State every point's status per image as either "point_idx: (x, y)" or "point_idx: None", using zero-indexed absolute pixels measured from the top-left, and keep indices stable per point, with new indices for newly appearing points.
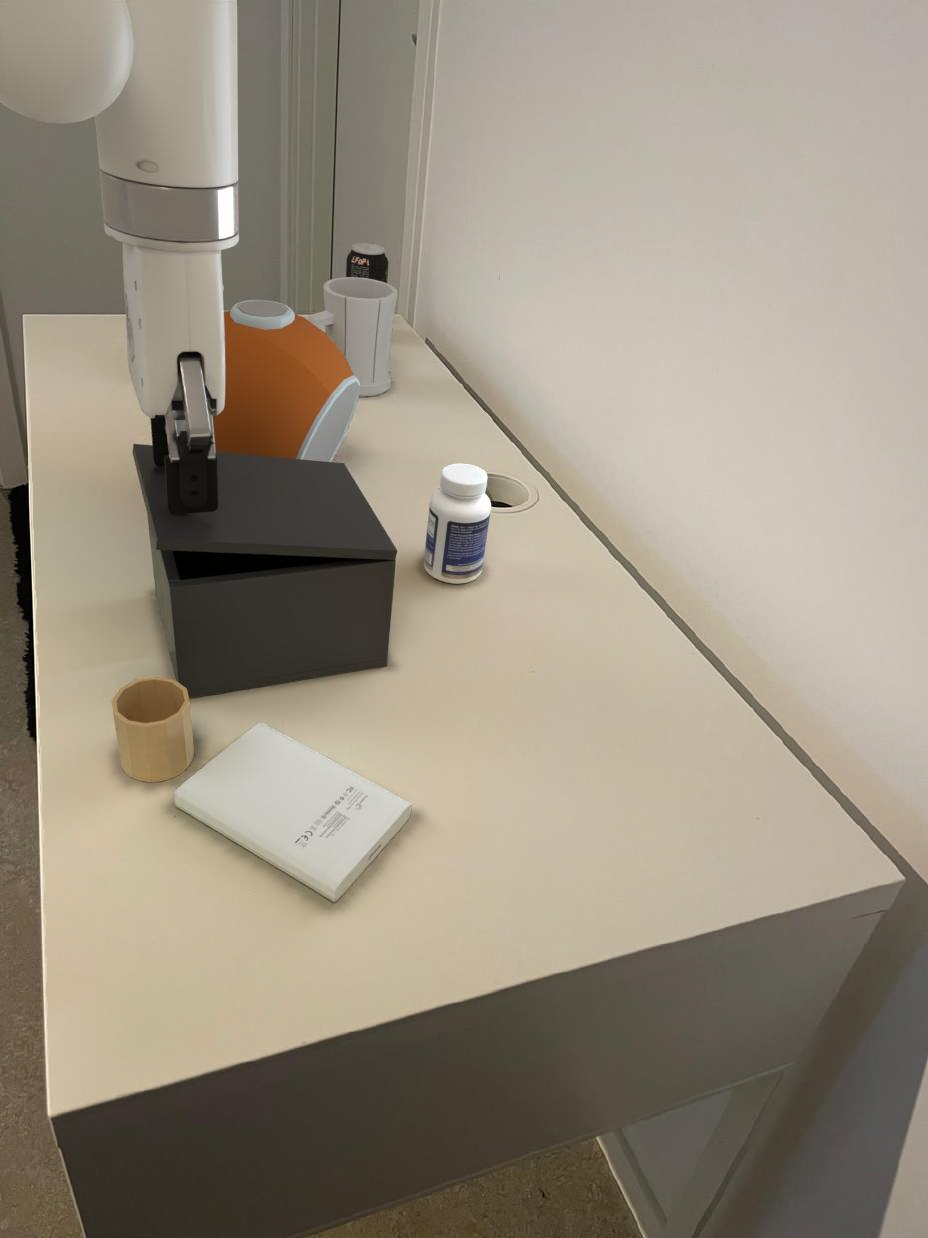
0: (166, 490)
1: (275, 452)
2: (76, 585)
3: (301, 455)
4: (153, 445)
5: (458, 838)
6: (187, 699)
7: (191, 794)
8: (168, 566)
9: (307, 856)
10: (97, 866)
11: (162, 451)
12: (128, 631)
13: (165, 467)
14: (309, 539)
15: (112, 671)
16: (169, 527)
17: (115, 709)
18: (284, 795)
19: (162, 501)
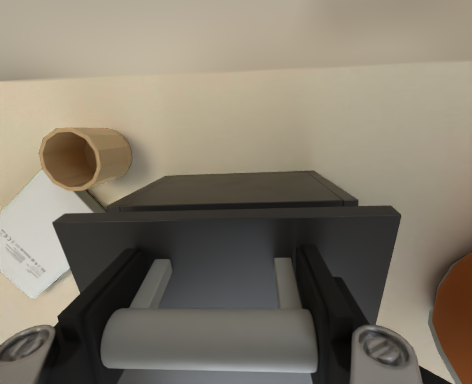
0: (118, 265)
1: (465, 355)
2: (347, 99)
3: (452, 377)
4: (310, 264)
5: (28, 310)
6: (70, 189)
7: (41, 174)
8: (151, 209)
9: None
10: (16, 109)
11: (301, 272)
12: (261, 143)
13: (78, 299)
14: (130, 377)
15: (209, 127)
16: (93, 241)
17: (59, 130)
18: (39, 231)
19: (175, 240)
